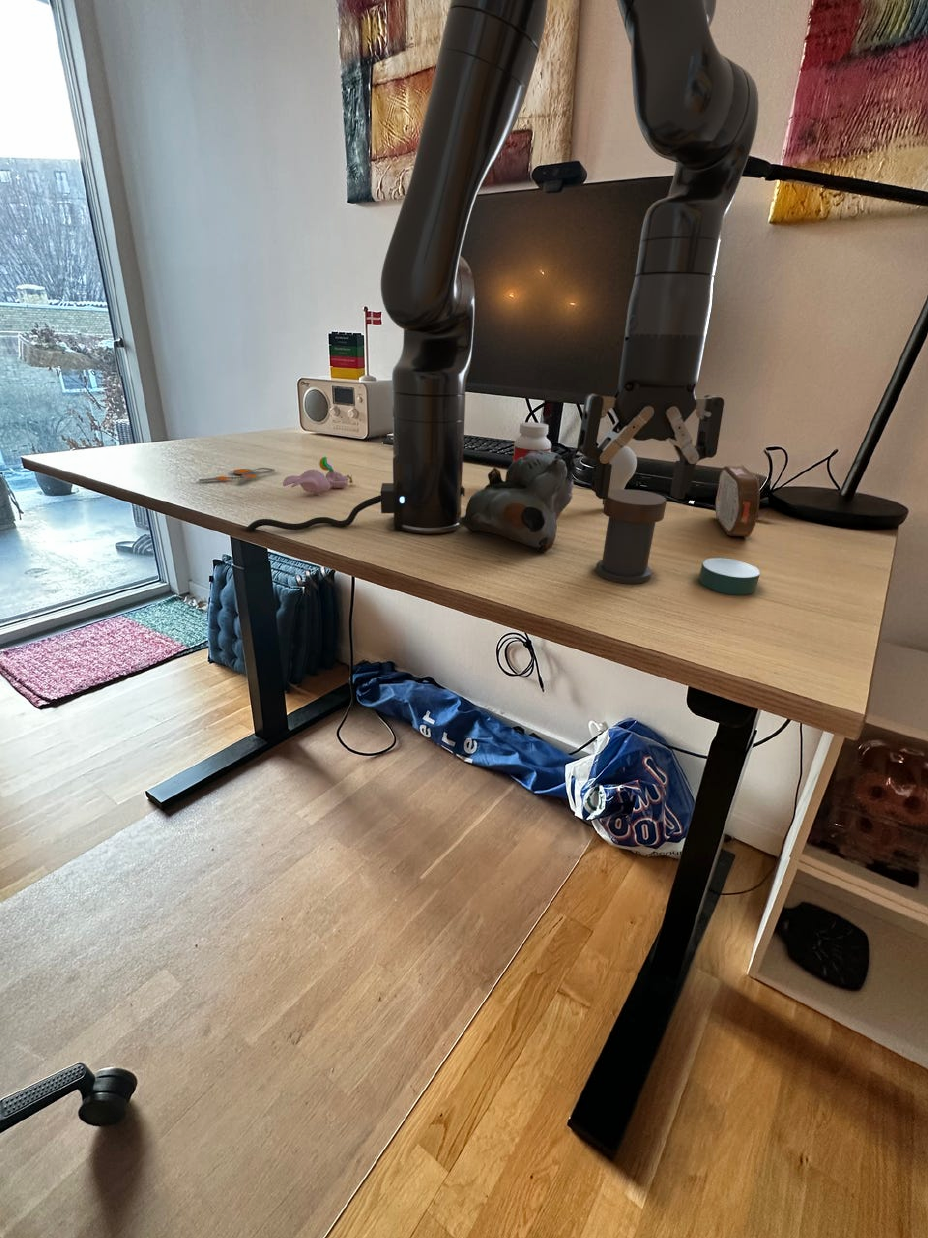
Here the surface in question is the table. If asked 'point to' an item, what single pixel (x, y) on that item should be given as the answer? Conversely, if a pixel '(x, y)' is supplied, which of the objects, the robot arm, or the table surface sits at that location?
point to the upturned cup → (626, 552)
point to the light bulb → (622, 468)
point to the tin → (737, 500)
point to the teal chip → (729, 576)
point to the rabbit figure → (319, 479)
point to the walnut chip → (635, 506)
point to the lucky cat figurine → (524, 499)
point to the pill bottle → (531, 439)
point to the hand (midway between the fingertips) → (638, 497)
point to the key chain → (244, 477)
